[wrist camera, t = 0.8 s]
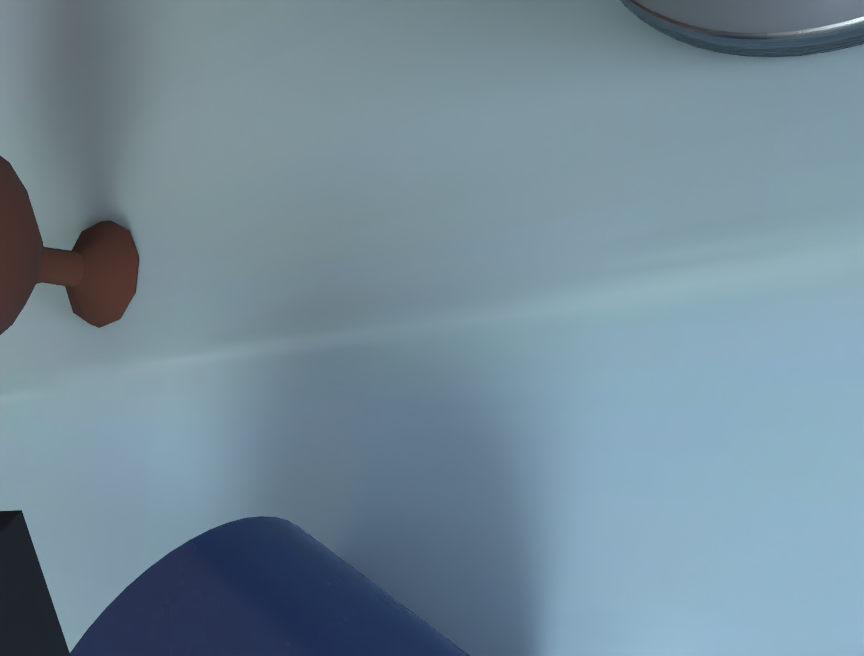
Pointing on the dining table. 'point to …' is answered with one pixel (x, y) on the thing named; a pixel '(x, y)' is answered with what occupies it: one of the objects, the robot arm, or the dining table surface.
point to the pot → (257, 603)
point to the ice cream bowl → (62, 261)
